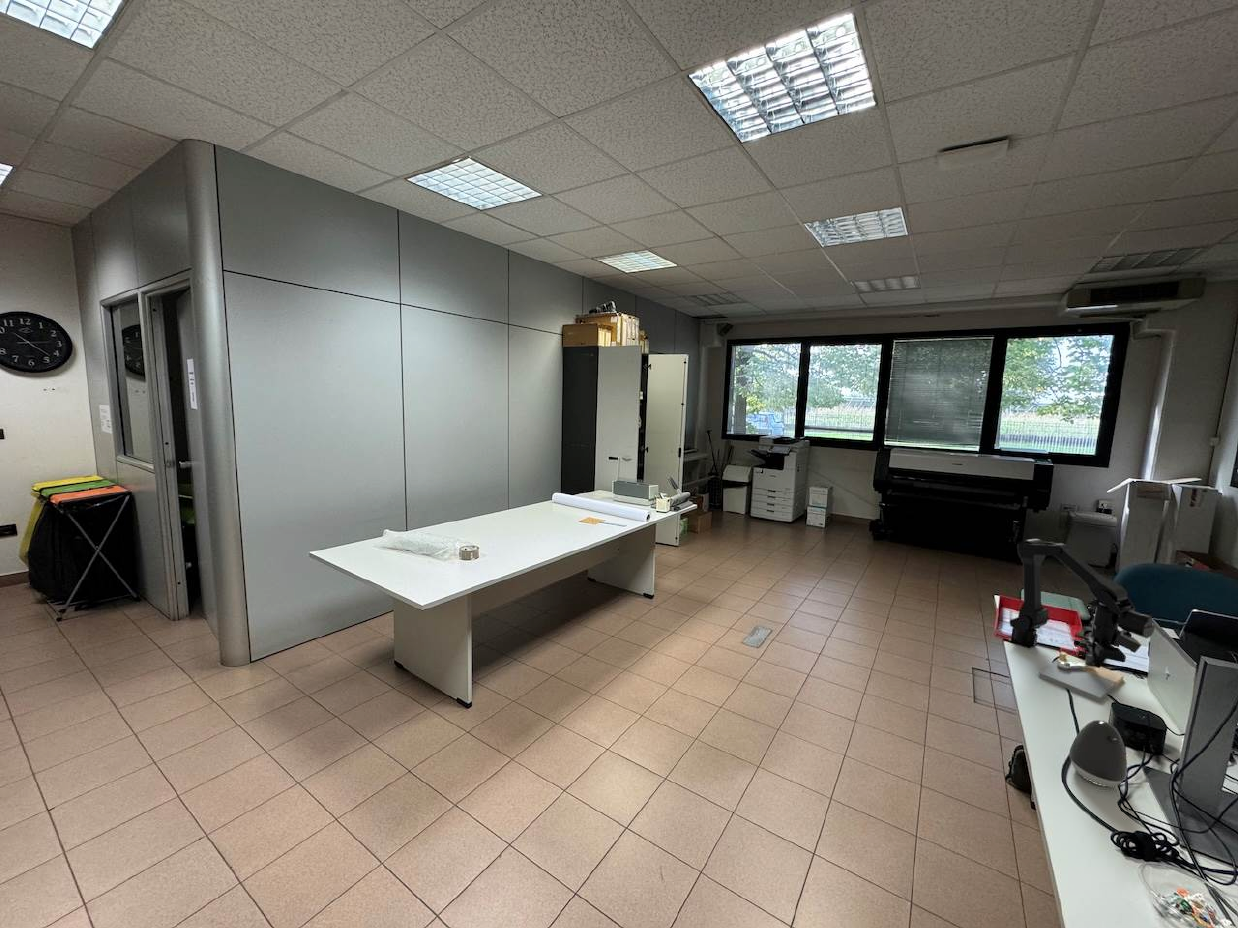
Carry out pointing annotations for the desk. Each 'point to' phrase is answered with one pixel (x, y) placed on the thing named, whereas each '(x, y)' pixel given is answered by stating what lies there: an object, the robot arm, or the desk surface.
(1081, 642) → the end cap
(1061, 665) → the door handle
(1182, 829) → the desk surface
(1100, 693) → the door board
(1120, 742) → the egg shaped dome
